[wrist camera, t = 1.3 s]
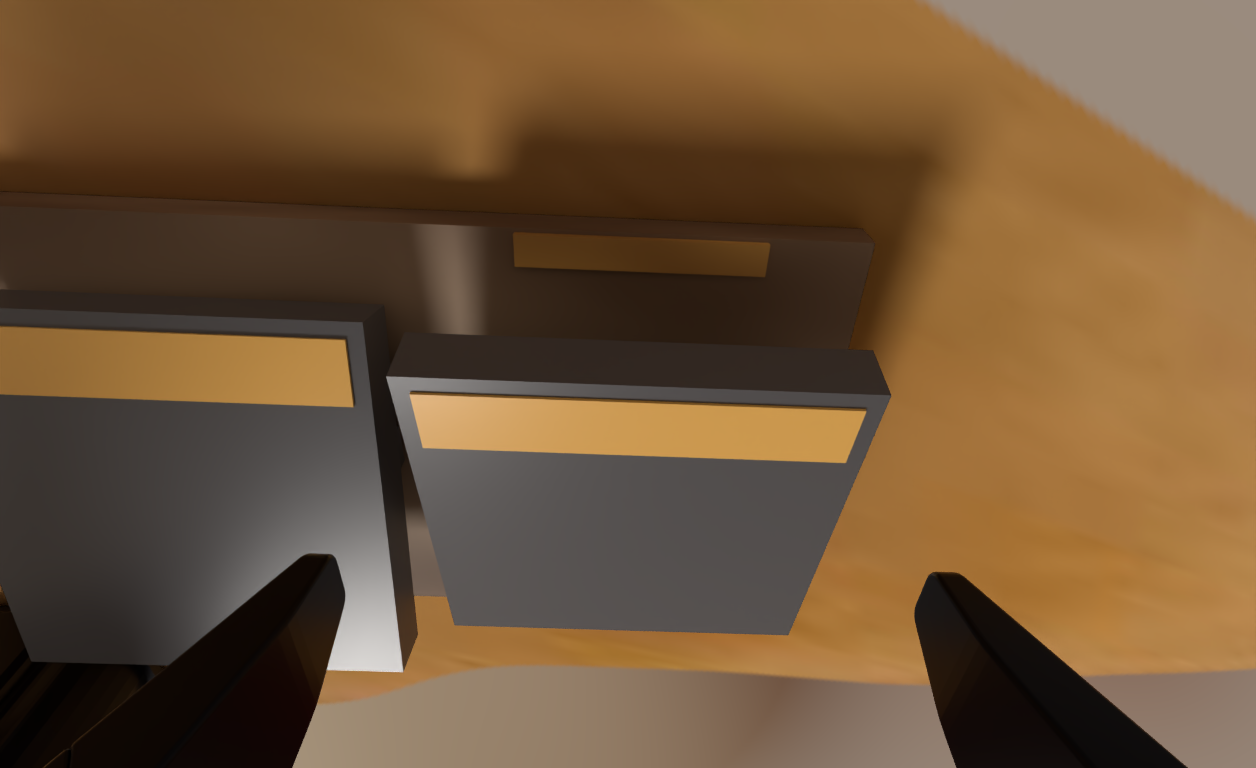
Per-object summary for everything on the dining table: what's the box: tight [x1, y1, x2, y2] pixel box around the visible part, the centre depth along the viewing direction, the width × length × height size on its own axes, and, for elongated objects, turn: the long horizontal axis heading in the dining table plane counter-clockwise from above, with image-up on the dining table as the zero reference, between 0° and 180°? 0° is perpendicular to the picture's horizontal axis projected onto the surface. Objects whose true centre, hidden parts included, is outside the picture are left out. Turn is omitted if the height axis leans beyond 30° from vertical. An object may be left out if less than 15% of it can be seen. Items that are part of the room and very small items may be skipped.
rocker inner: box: [0, 289, 418, 672], centre depth 17 cm, size 10×10×2 cm
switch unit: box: [0, 192, 875, 597], centre depth 19 cm, size 13×22×2 cm, turn 88°
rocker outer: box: [386, 332, 891, 635], centre depth 17 cm, size 10×10×2 cm
